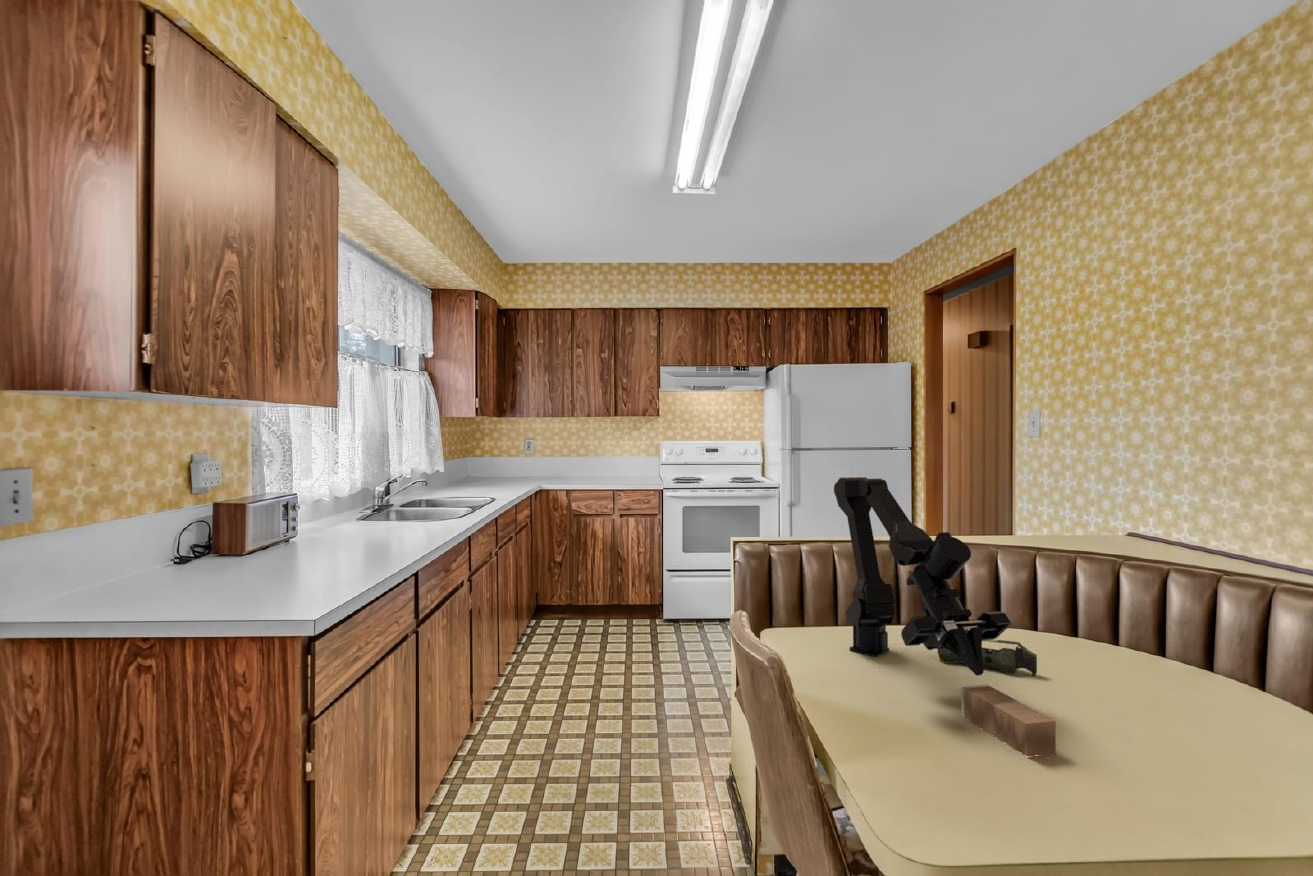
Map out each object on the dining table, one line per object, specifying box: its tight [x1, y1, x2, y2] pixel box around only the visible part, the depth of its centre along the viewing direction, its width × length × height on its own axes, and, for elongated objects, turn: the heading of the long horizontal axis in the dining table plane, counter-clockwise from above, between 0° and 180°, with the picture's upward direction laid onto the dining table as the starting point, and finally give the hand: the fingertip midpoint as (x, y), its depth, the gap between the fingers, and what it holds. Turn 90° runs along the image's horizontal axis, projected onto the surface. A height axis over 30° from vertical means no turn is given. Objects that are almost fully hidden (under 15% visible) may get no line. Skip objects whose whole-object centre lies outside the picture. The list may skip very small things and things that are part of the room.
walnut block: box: [960, 684, 1057, 756], centre depth 98 cm, size 5×5×14 cm
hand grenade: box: [937, 638, 1038, 677], centre depth 127 cm, size 6×5×18 cm
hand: (980, 674), depth 103 cm, fingers closed
